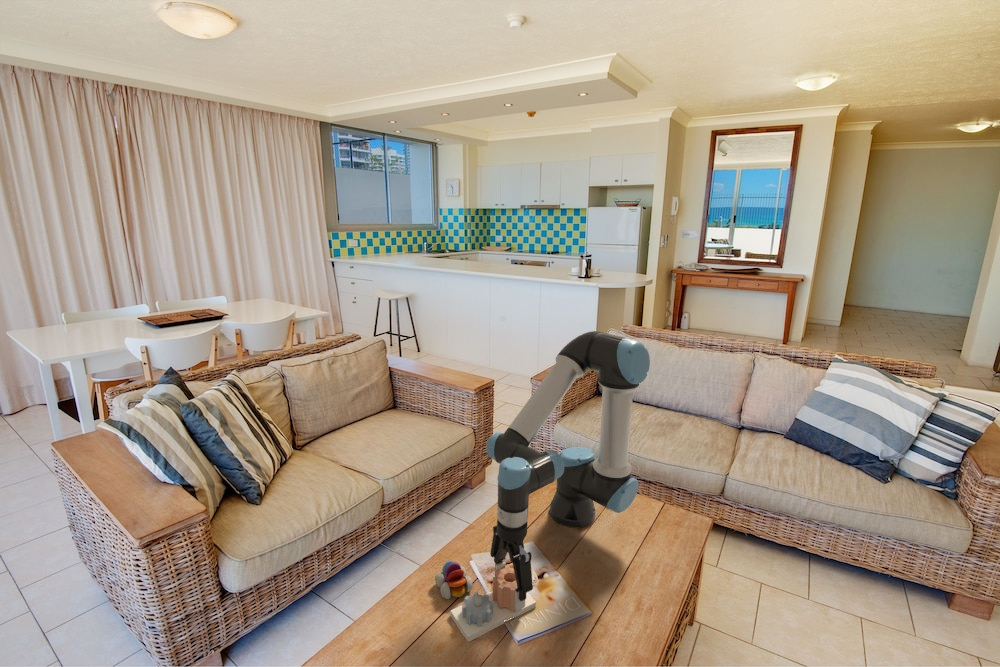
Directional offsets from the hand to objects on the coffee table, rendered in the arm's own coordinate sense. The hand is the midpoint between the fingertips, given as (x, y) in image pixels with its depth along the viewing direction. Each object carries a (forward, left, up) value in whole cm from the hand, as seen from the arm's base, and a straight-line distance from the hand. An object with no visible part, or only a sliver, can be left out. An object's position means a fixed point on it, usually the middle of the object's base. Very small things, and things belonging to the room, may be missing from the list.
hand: (509, 595), depth 123 cm
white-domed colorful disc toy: (-12, -10, -3) cm, 16 cm away
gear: (0, 0, 0) cm, 0 cm away
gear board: (0, -5, -2) cm, 5 cm away
